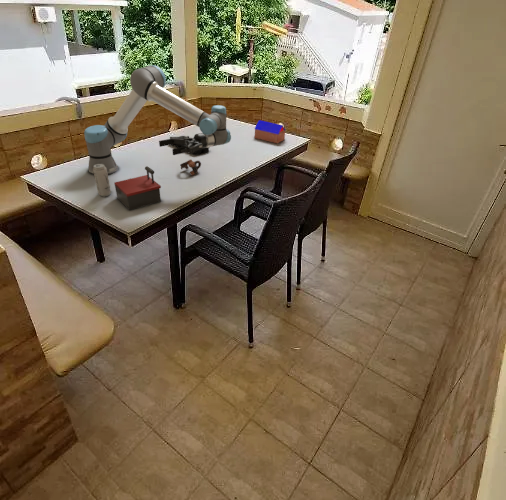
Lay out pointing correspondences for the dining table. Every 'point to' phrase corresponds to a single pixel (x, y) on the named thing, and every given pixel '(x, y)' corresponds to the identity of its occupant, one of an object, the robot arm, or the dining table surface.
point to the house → (269, 132)
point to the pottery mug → (192, 165)
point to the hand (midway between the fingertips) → (166, 147)
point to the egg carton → (195, 151)
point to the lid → (138, 184)
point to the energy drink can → (102, 180)
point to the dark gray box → (138, 198)
